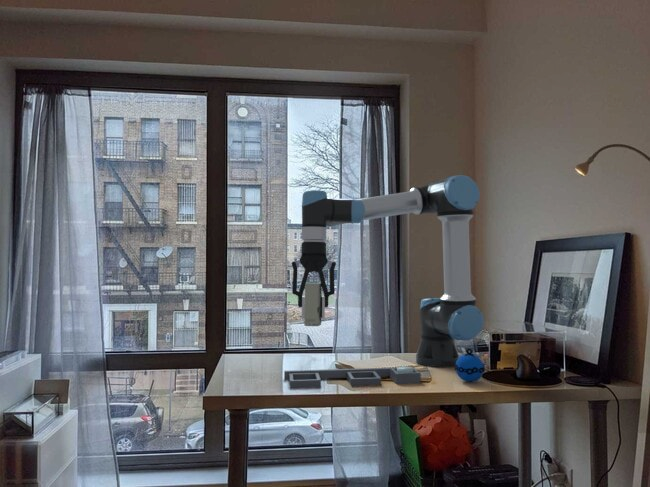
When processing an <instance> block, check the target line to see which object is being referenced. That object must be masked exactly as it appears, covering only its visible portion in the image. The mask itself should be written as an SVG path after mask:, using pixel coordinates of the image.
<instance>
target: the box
mask: <svg viewBox="0 0 650 487" xmlns="http://www.w3.org/2000/svg"><path fill="white" fill-rule="evenodd" d="M322 292H323V289H322V285H321V282H306V284H305V288H304V296H305V319H304V321H303V322H304V324H303V326H305V327H320V326H321V325H322V318H321V297H322V296H323V295H322Z"/></svg>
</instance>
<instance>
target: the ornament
mask: <svg viewBox="0 0 650 487" xmlns="http://www.w3.org/2000/svg"><path fill="white" fill-rule="evenodd" d="M469 351H470V352H469ZM454 370H455V372H456V374H457V376H458V377H459V379H461V380H462V381H464V382H467V383H474V382H477V381H479V380H480V379H481V378H482V376H483V374H484V373H485V364H484V363H483V361H482V360H481V358H480V357H478V356H477V355H476V354H474V353H473V350H472V349H471V348H467V349H466V353H464V354H462V355H460V356H459V358H458V360H457V361H456V364H455V366H454Z"/></svg>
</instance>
